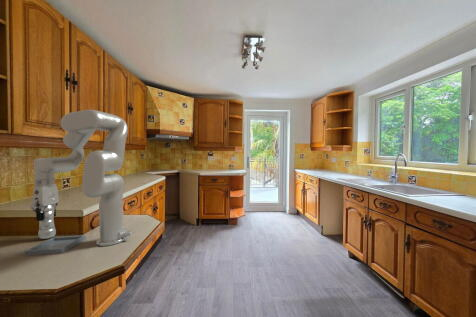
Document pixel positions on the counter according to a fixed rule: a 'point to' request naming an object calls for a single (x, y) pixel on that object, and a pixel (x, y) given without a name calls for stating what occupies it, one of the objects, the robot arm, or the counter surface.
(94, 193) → the robot arm
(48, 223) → the plastic bottle
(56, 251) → the slate tray
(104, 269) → the counter surface
